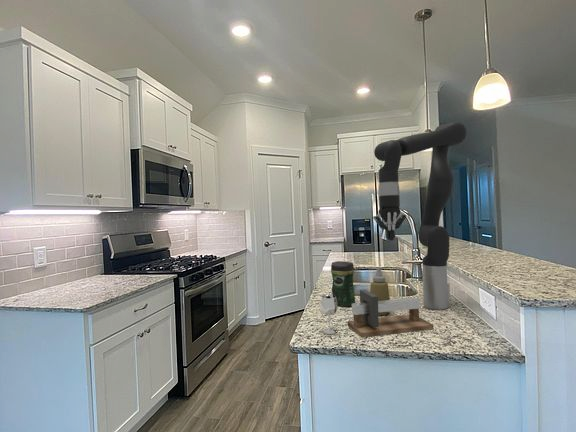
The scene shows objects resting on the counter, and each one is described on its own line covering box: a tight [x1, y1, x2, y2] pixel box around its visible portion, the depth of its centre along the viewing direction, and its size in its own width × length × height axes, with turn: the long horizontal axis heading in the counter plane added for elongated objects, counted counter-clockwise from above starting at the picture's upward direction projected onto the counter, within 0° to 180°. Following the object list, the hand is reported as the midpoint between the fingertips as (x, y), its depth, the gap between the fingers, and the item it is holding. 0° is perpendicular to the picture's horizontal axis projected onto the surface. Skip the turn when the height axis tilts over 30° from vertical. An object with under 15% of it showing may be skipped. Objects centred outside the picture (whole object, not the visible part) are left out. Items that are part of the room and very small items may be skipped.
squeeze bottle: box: [369, 266, 391, 316], centre depth 135 cm, size 8×8×18 cm
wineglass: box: [319, 294, 339, 335], centre depth 118 cm, size 6×6×12 cm
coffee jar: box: [330, 260, 356, 307], centre depth 149 cm, size 10×8×19 cm
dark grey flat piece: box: [359, 289, 379, 327], centre depth 118 cm, size 2×10×10 cm, turn 12°
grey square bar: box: [351, 297, 421, 315], centre depth 120 cm, size 24×4×4 cm, turn 102°
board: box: [347, 308, 435, 338], centre depth 120 cm, size 26×12×6 cm, turn 102°
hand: (390, 240), depth 132 cm, fingers closed
